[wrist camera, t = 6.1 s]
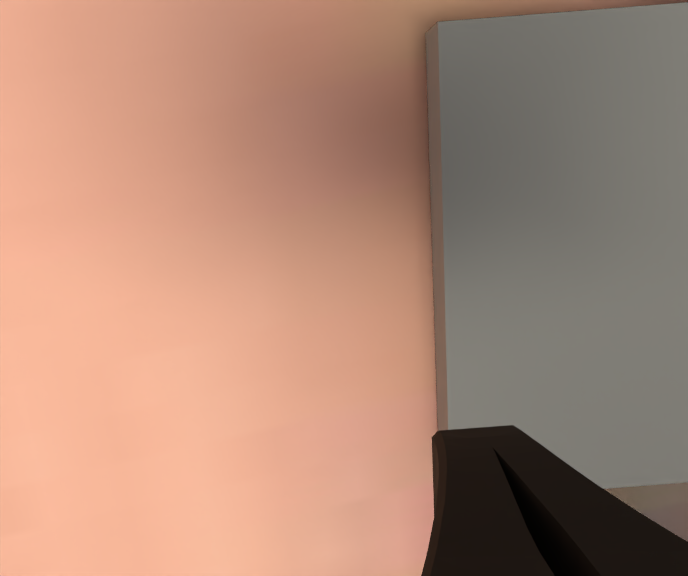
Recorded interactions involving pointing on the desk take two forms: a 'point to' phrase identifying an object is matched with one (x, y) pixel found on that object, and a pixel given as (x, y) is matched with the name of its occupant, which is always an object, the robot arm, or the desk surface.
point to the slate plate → (564, 234)
